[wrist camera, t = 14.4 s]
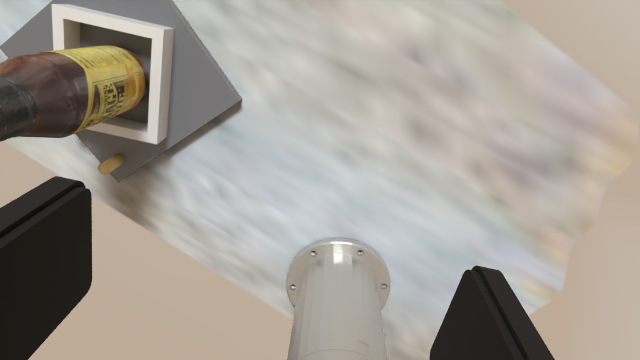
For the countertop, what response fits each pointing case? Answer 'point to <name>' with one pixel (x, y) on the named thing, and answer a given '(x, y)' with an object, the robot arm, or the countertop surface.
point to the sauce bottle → (68, 90)
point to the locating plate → (159, 61)
